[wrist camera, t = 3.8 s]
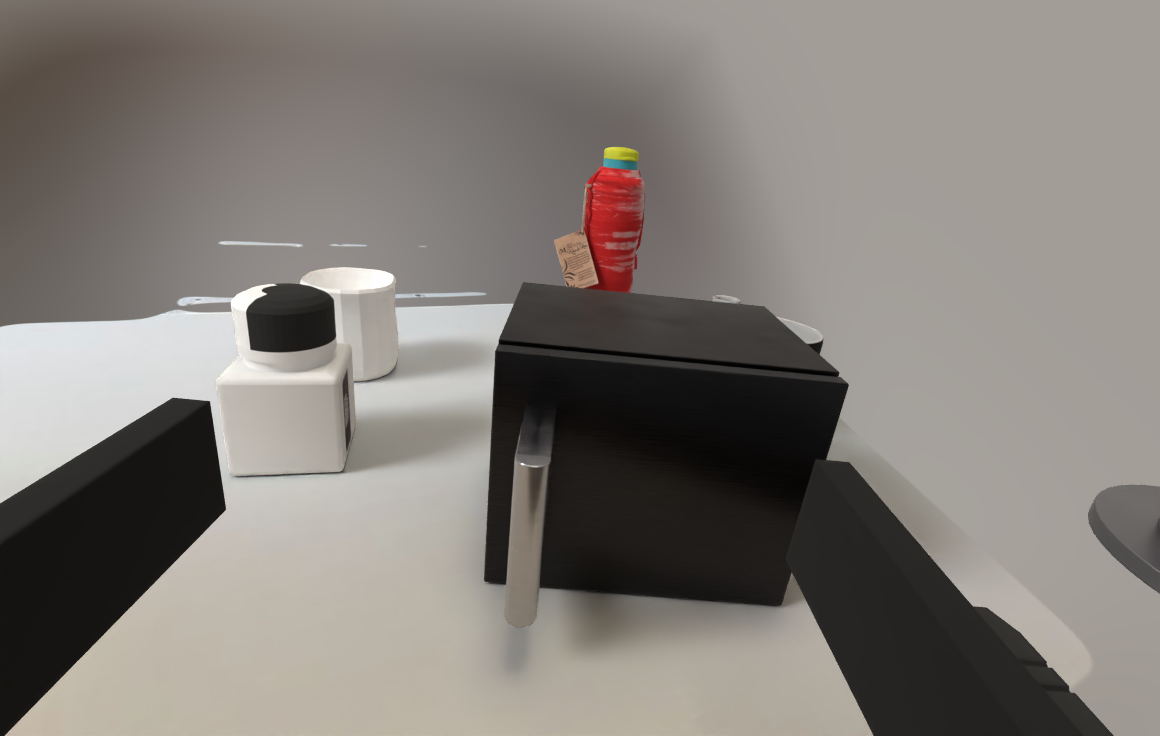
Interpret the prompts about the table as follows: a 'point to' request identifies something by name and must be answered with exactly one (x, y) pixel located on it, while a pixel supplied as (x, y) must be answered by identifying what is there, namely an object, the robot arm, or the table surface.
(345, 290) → the cup
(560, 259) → the water bottle
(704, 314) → the dark grey cabinet
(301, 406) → the container
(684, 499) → the door
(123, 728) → the table surface
